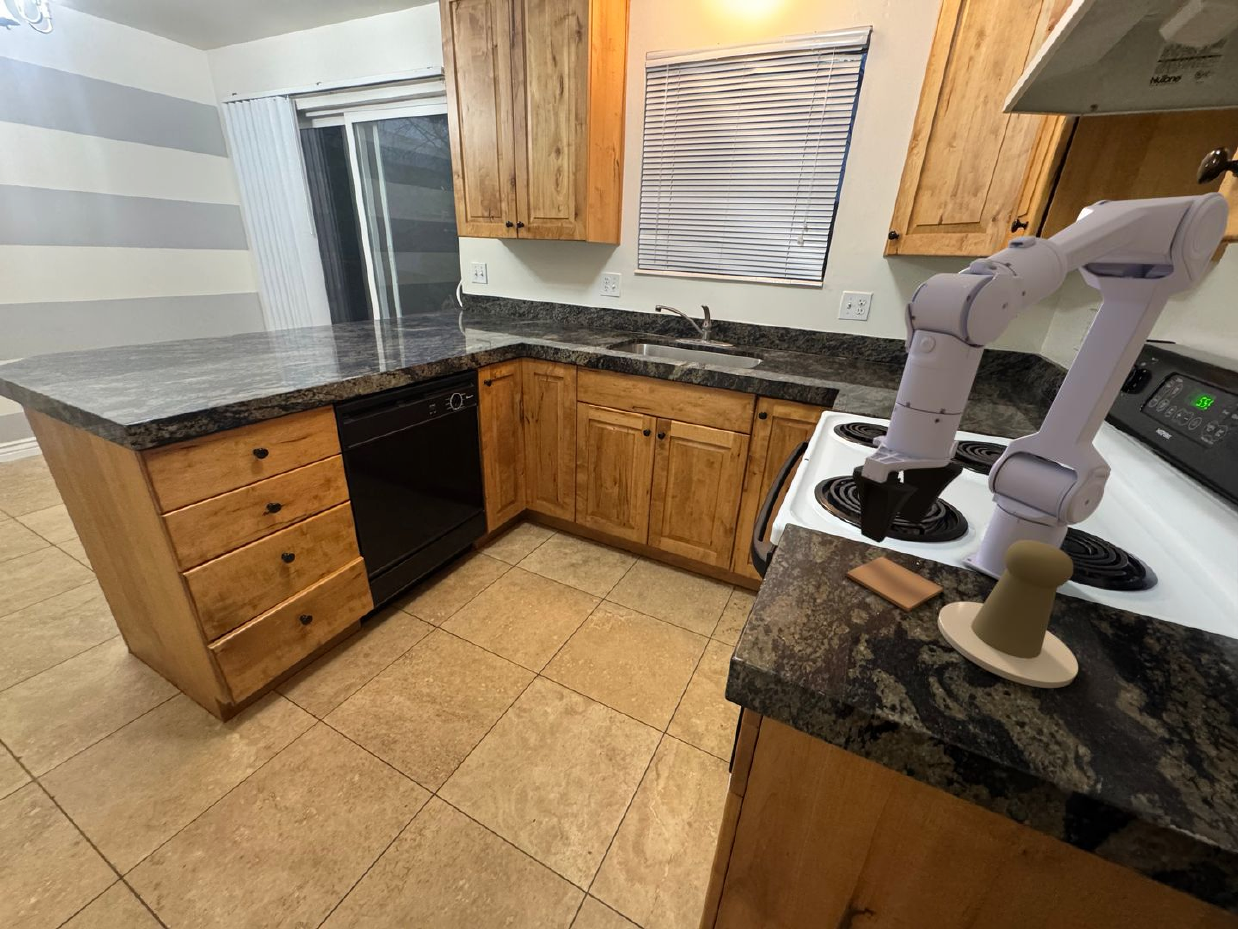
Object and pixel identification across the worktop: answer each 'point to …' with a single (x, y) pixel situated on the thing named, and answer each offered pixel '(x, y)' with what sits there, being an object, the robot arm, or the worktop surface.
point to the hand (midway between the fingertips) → (891, 529)
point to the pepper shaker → (1023, 599)
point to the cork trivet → (894, 583)
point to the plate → (1041, 671)
